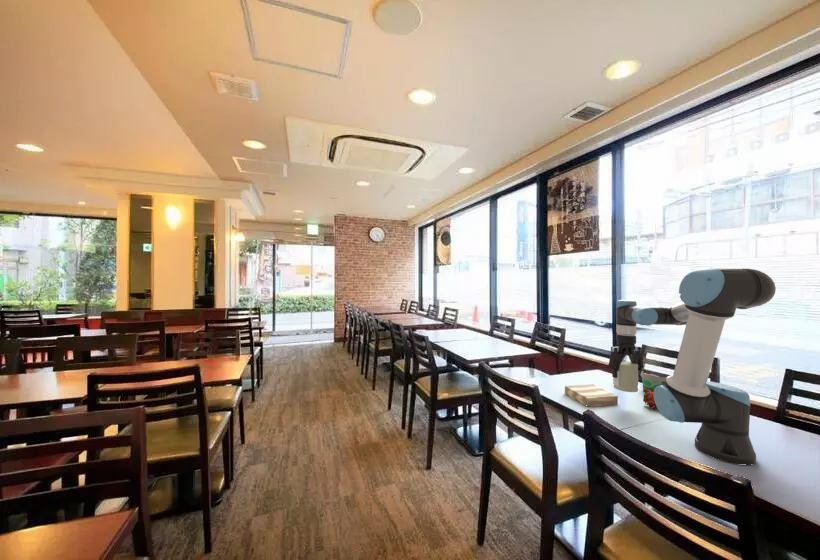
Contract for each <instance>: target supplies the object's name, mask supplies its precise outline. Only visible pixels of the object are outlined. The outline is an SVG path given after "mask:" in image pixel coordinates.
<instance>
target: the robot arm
mask: <svg viewBox="0 0 820 560" xmlns="http://www.w3.org/2000/svg"><path fill="white" fill-rule="evenodd" d="M776 291H777V290H776V283H775V282H774V280H773V278H772V277H770V276H769V275H768V274H767V273H765V272H763V271H761V270H758V269H753V268H721V267H719V268H714V267H708V268H698V269H697V268H696V269H693V270H692V271H690V272H688V273H686V275H684V276H683V278H682V280H681V281H680V284H679V286H678V294H679V298H680V300H681V302H679V303H676V304H673V305H670V306H645V305H644V306H643V305H642V306H640V305H637V301H636V300H630V299H619V300H617V302H616V307H615V308H616V309H615V310H616V311H615V313H616V314H615V315H616V316H615V319H616V322H615V323H616V327H615V328H616V329H615V331H616V332H615V333H616V335H615V336H616V337H615V340H616V343H617V345H616V346H610V355H609V360H608V366H607V368H608V369H610V370H612V372H611V373H612V375H611V377H612V379H613V383H612V384H613V385H614V384H615V385H617V386H620V371H618V369H619V367H620V364H621V362H622V361H624V358H625V357H626V356H628V358H629V359H628V360H629V362H631V363H635V364H638V378H639V377H640V371H643V370H642V369H644V362H643V356H642V347H641V346H639V345H636V344H637V336H636V335H637V325H639V326H648V327H649V326H652V325H653V326H654V325H657V326H658V325H659V326H660V325H661V326H662V325H663V326H665V325H667V326H670V325H673V326H685V328H684V332H683V335H682V339H681V343H680V347H679V350H678V354H677V359H676V362H675V366H674V370H673V374H671V375H668V376H666V377H667V378H666V382H665V385H664V386H663V385H660V386H657V387H656V388H655V389H654V401H655V404H656V406H657V408H658V409H657V410H658V411H659V414H661V415H662V417H663V418H665V420H668V421H670V422H676V423H678V422H679V423H682V424H683V423H696V424H697V423H699V424H701V425H700V427H699V430H698V432H697V434H696V436H695V438H694V447H695V448H696V449H697V450H698V451H699V452H701V453H703V454H705V455H706V456H708V455H709V456H708V457H710V456H711V458H713V457H714V458H713V459H715V458H716V460H718V459H719V460H718V461H721V462H724V463H729V464H732V463H733V465H737V464H746V465H745V466H752V465H751V464H753V465H755V464H756V463H757V453H756V452H755V448H754V446H753V444H752V441H751V438H750V417H751V403H750V402H751V400H750V399H751V397H750V395H749V394H748V393H747V392H746V391H745V390H743V389H741V388H739V387H734V386H732V385H728V384H725V383H720V382H715V381H709V380H708V379H709V376H710V372H711V369H712V366H713V362H714V360H715V356H716V352H717V350H718V345H719V343H720V339H721V336H722V333H723V330H724V326H725V323H726V321H727V320H729V319H731V318H734V317H735V314H736V311H737V310H748V309H751V308H756V307H760V306H762V305H765V304H767V303H769V302H770V301H771V300H773V298H774V296H775V295H776ZM615 367H616V368H615Z"/></svg>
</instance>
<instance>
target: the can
mask: <svg viewBox="0 0 820 560" xmlns="http://www.w3.org/2000/svg"><path fill="white" fill-rule="evenodd" d="M615 368H616V367H615ZM618 371H620V386H617V385H615V384H613V388H614V389H615V390H617V391H622V392H626V393H637V392H639V388H638V387H639V386H638V385H639V377H638V364H635V363H631V361H627V360H622V362H621V364H620V367H619V369H618Z"/></svg>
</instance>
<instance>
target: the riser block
mask: <svg viewBox="0 0 820 560" xmlns="http://www.w3.org/2000/svg"><path fill="white" fill-rule="evenodd" d="M564 394H565V395H566V396H568V397H570V398H571V399H573V400H574V401H577V402H578V403H580V404H582V405H583V404H584V405H583V406H585V405H587V406H590V407H600V406H601V407H603V406H613V405H614V406H615V405H618V400H619V396H618V395H617V394H615V393H612V392H610V391H609V390H606V389H604V388H603V387H599V386H598V385H595V384H578V385H577V384H576V385H565V386H564ZM587 406H586V407H587Z"/></svg>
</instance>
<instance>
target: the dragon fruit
mask: <svg viewBox="0 0 820 560" xmlns="http://www.w3.org/2000/svg"><path fill="white" fill-rule="evenodd" d="M642 397H643V399H642V402H644V405H646V406H649V408H652V409H653V408H655V409H657V410H658V408H657V406H656V404H655V401H654V391H652V392H651V391H647V392H644V393H643V395H642Z"/></svg>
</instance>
